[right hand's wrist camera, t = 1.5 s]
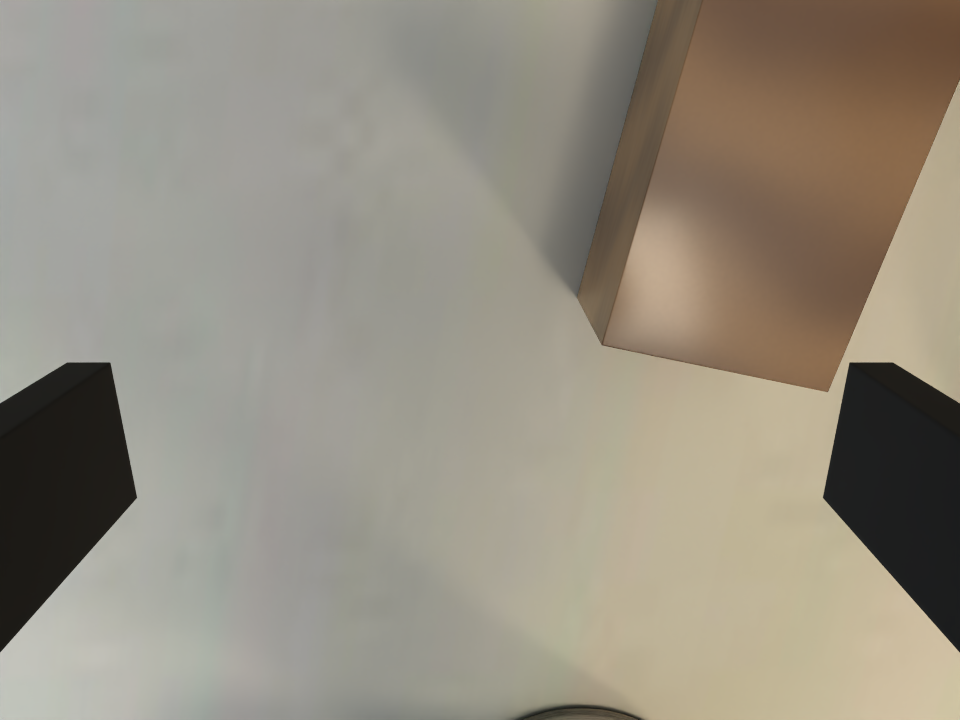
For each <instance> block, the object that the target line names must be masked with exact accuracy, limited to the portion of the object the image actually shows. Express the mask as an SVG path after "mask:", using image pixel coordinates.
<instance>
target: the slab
mask: <svg viewBox="0 0 960 720" xmlns="http://www.w3.org/2000/svg"><path fill="white" fill-rule="evenodd" d="M959 80H960V0H658V3H657V6H656V10H655V14H654V17H653V21H652V25H651V28H650V32H649V36H648V39H647V43H646V47H645V50H644V54H643V58H642V61H641V65H640V69H639V72H638V76H637V80H636V83H635V87H634V91H633V94H632V98H631V102H630V105H629V109H628V113H627V116H626V120H625V124H624V127H623V131H622V135H621V138H620V142H619V146H618V149H617V153H616V157H615V160H614V164H613V168H612V171H611V175H610V179H609V182H608V186H607V190H606V193H605V197H604V201H603V204H602V208H601V212H600V215H599V219H598V223H597V226H596V230H595V234H594V237H593V241H592V245H591V248H590V252H589V256H588V259H587V263H586V267H585V270H584V274H583V278H582V281H581V285H580V289H579V292H578V296H577V299H578V300H579V302H580V304H581V306H582V308H583V310H584V312H585V314H586V316H587V318H588V320H589V322H590V323H591V325H592V327H593V329H594V331H595V333H596V335H597V337H598V339H599V341H600V343H601V344H602V345H604V346H608V347H613V348H618V349H623V350H628V351H632V352H637V353H642V354H647V355H652V356H657V357H661V358H666V359H671V360H676V361H681V362H685V363H690V364H695V365H700V366H705V367H710V368H714V369H719V370H724V371H729V372H734V373H738V374H743V375H748V376H753V377H758V378H763V379H767V380H772V381H777V382H782V383H787V384H791V385H796V386H801V387H806V388H811V389H816V390H820V391H825V392H828V390H829V388H830V386H831V383H832V381H833V379H834V376H835V374H836V371H837V369H838V367H839V364H840V362H841V360H842V357H843V355H844V352H845V350H846V348H847V345H848V343H849V341H850V338H851V336H852V333H853V331H854V329H855V326H856V324H857V322H858V319H859V317H860V315H861V312H862V310H863V307H864V305H865V303H866V300H867V298H868V296H869V293H870V291H871V288H872V286H873V284H874V281H875V279H876V277H877V274H878V272H879V269H880V267H881V265H882V262H883V260H884V258H885V255H886V253H887V250H888V248H889V246H890V243H891V241H892V239H893V236H894V234H895V232H896V229H897V227H898V224H899V222H900V220H901V217H902V215H903V213H904V210H905V208H906V205H907V203H908V201H909V198H910V196H911V194H912V191H913V189H914V186H915V184H916V182H917V179H918V177H919V175H920V172H921V170H922V167H923V165H924V163H925V160H926V158H927V156H928V153H929V151H930V149H931V146H932V144H933V141H934V139H935V137H936V134H937V132H938V130H939V127H940V125H941V122H942V120H943V118H944V115H945V113H946V111H947V108H948V106H949V103H950V101H951V99H952V96H953V94H954V92H955V89H956V87H957V84H958V82H959Z"/></svg>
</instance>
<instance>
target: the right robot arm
mask: <svg viewBox="0 0 960 720" xmlns="http://www.w3.org/2000/svg"><path fill="white" fill-rule="evenodd" d="M136 498H137V495H136V490H135V485H134V480H133V475H132V470H131V465H130V460H129V455H128V450H127V445H126V440H125V434H124V429H123V424H122V419H121V414H120V409H119V404H118V399H117V394H116V389H115V384H114V379H113V374H112V369H111V363H66V364H64V365H62V366H61V367H59V368H58V369H56V370H54V371H53V372H51V373H49V374H48V375H46V376H44V377H43V378H41V379H40V380H38V381H36V382H35V383H33V384H31V385H30V386H28V387H26V388H25V389H23V390H22V391H20V392H18V393H17V394H15V395H13V396H12V397H10V398H8V399H7V400H5V401H4V402H2V403H0V652H1V651H2V650H3V649H4V647H5V646H6V645H7V644H8V643H9V642H10V641H11V640H12V638H13V637H14V636H15V635H16V634H17V633H18V632H19V631H20V629H21V628H22V627H23V626H24V625H25V624H26V623H27V621H28V620H29V619H30V618H31V617H32V616H33V615H34V614H35V612H36V611H37V610H38V609H39V608H40V607H41V606H42V605H43V603H44V602H45V601H46V600H47V599H48V598H49V597H50V595H51V594H52V593H53V592H54V591H55V590H56V589H57V588H58V586H59V585H60V584H61V583H62V582H63V581H64V580H65V579H66V577H67V576H68V575H69V574H70V573H71V572H72V571H73V570H74V568H75V567H76V566H77V565H78V564H79V563H80V562H81V560H82V559H83V558H84V557H85V556H86V555H87V554H88V553H89V551H90V550H91V549H92V548H93V547H94V546H95V545H96V544H97V542H98V541H99V540H100V539H101V538H102V537H103V536H104V534H105V533H106V532H107V531H108V530H109V529H110V528H111V527H112V525H113V524H114V523H115V522H116V521H117V520H118V519H119V518H120V516H121V515H122V514H123V513H124V512H125V511H126V510H127V509H128V507H129V506H130V505H131V504H132V503H133V502H134V501H135V499H136ZM823 498H824V499H825V501H826V502H827V503H828V504H829V505H830V506H831V507H832V509H833V510H834V511H835V512H836V513H837V514H838V515H839V516H840V518H841V519H842V520H843V521H844V522H845V523H846V524H847V525H848V527H849V528H850V529H851V530H852V531H853V532H854V533H855V534H856V536H857V537H858V538H859V539H860V540H861V541H862V542H863V544H864V545H865V546H866V547H867V548H868V549H869V550H870V551H871V553H872V554H873V555H874V556H875V557H876V558H877V559H878V560H879V562H880V563H881V564H882V565H883V566H884V567H885V568H886V570H887V571H888V572H889V573H890V574H891V575H892V576H893V577H894V579H895V580H896V581H897V582H898V583H899V584H900V585H901V586H902V588H903V589H904V590H905V591H906V592H907V593H908V594H909V595H910V597H911V598H912V599H913V600H914V601H915V602H916V603H917V605H918V606H919V607H920V608H921V609H922V610H923V611H924V612H925V614H926V615H927V616H928V617H929V618H930V619H931V620H932V621H933V623H934V624H935V625H936V626H937V627H938V628H939V629H940V631H941V632H942V633H943V634H944V635H945V636H946V637H947V638H948V640H949V641H950V642H951V643H952V644H953V645H954V646H955V647H956V649H957V650H958V651H959V652H960V403H958V402H956V401H955V400H953V399H952V398H950V397H948V396H947V395H945V394H943V393H942V392H940V391H938V390H937V389H935V388H934V387H932V386H930V385H929V384H927V383H925V382H924V381H922V380H920V379H919V378H917V377H916V376H914V375H912V374H911V373H909V372H907V371H906V370H904V369H902V368H901V367H899V366H898V365H896V364H894V363H849V369H848V374H847V379H846V384H845V389H844V394H843V399H842V404H841V409H840V414H839V419H838V424H837V429H836V434H835V440H834V445H833V450H832V455H831V460H830V465H829V470H828V475H827V480H826V485H825V490H824V495H823ZM523 720H637V719H635V718H633V717H630V716H627V715H624V714H621V713H617V712H613V711H607V710H601V709H590V708H572V709H561V710H554V711H549V712H545V713H541V714H537V715H534V716H531V717H528V718H525V719H523Z"/></svg>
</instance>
